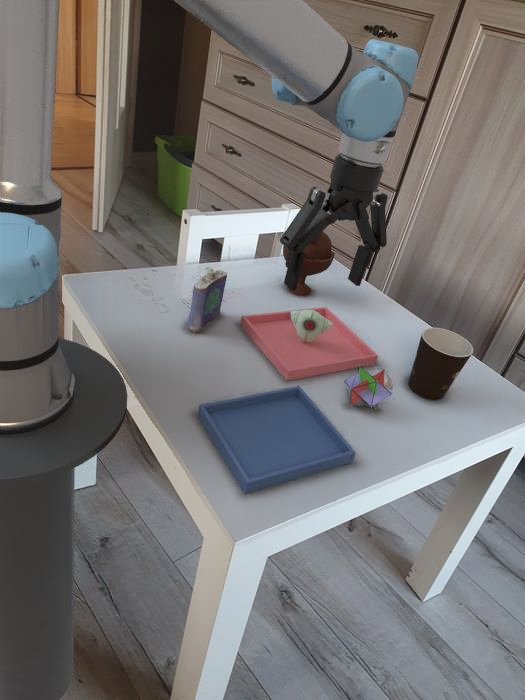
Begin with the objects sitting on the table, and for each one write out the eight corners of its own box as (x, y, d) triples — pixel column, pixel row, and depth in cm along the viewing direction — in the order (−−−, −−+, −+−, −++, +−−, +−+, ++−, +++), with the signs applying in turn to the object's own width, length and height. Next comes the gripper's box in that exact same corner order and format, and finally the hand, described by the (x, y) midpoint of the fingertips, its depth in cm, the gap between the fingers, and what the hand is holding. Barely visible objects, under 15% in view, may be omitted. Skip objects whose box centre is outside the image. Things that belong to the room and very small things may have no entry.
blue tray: (244, 493, 68) (247, 483, 67) (197, 415, 79) (199, 404, 78) (352, 462, 77) (356, 452, 76) (296, 395, 87) (299, 385, 86)
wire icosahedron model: (355, 413, 83) (391, 374, 82) (327, 386, 87) (361, 348, 86) (373, 425, 88) (407, 388, 87) (346, 399, 92) (379, 364, 91)
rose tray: (286, 380, 90) (288, 371, 89) (240, 324, 101) (241, 315, 100) (375, 364, 99) (378, 355, 98) (323, 315, 111) (326, 306, 110)
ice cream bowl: (288, 304, 112) (305, 236, 104) (266, 278, 120) (280, 212, 112) (332, 302, 116) (351, 236, 108) (307, 276, 124) (324, 214, 116)
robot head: (327, 342, 101) (336, 311, 98) (324, 354, 98) (334, 322, 94) (285, 330, 102) (293, 299, 98) (281, 341, 98) (289, 309, 95)
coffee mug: (427, 409, 91) (450, 361, 85) (392, 378, 96) (411, 331, 91) (471, 395, 97) (495, 349, 92) (435, 367, 103) (456, 322, 97)
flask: (196, 334, 96) (204, 280, 90) (182, 328, 97) (189, 274, 91) (222, 315, 103) (231, 263, 97) (209, 309, 104) (217, 258, 98)
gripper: (305, 163, 73) (271, 300, 84) (436, 172, 86) (390, 290, 97) (278, 145, 78) (249, 277, 90) (405, 156, 91) (365, 270, 102)
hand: (322, 284), depth 93 cm, fingers open, 13 cm apart
